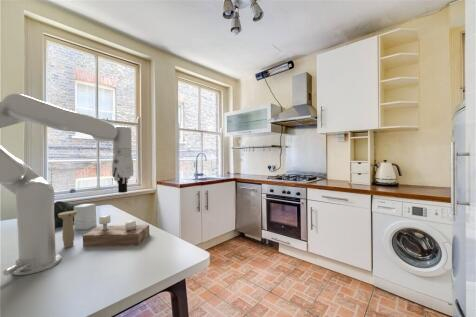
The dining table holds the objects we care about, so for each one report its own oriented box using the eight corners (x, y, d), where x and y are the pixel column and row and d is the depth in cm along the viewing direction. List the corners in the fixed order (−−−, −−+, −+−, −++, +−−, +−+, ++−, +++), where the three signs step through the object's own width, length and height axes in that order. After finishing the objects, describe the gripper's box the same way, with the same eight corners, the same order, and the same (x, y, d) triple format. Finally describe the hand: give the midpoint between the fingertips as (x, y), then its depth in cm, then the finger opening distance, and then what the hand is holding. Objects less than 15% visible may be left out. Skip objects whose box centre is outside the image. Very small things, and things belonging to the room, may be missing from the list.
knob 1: (107, 233, 93) (106, 217, 93) (97, 234, 93) (96, 217, 93) (112, 230, 97) (112, 214, 97) (103, 230, 97) (103, 215, 97)
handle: (57, 247, 89) (56, 213, 88) (75, 242, 94) (74, 210, 94) (61, 250, 86) (60, 215, 86) (79, 244, 91) (78, 211, 91)
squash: (79, 209, 132) (58, 195, 124) (86, 214, 122) (64, 199, 114) (58, 228, 124) (34, 214, 116) (63, 235, 115) (38, 220, 106)
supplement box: (97, 225, 117) (96, 203, 117) (86, 229, 110) (85, 206, 110) (85, 224, 118) (84, 203, 118) (73, 229, 111) (73, 206, 110)
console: (137, 245, 89) (137, 234, 89) (83, 246, 89) (82, 235, 89) (149, 234, 101) (149, 224, 101) (101, 235, 101) (100, 225, 101)
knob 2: (133, 239, 93) (133, 223, 93) (123, 239, 93) (123, 223, 93) (138, 235, 98) (137, 220, 97) (128, 235, 98) (128, 220, 97)
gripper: (121, 152, 87) (121, 195, 87) (138, 153, 102) (138, 189, 102) (103, 152, 87) (104, 195, 87) (123, 153, 102) (124, 189, 102)
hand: (122, 192), depth 95 cm, fingers closed
